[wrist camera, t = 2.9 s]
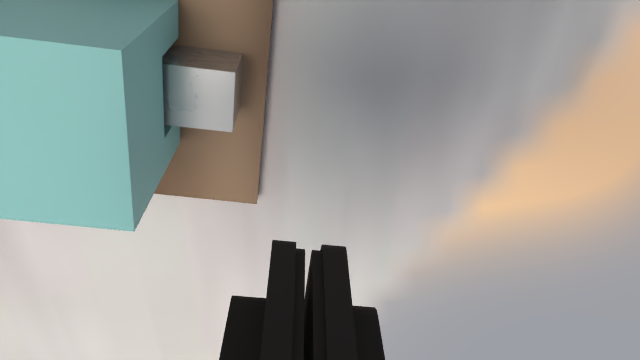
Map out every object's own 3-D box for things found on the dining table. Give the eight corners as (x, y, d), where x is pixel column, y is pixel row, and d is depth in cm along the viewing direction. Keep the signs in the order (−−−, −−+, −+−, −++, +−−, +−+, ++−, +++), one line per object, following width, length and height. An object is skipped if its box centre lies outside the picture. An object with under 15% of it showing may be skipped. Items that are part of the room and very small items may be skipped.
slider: (178, 0, 19) (121, 50, 13) (180, 142, 22) (134, 231, 17) (40, -18, 19) (-76, 26, 13) (62, 129, 22) (-26, 216, 16)
